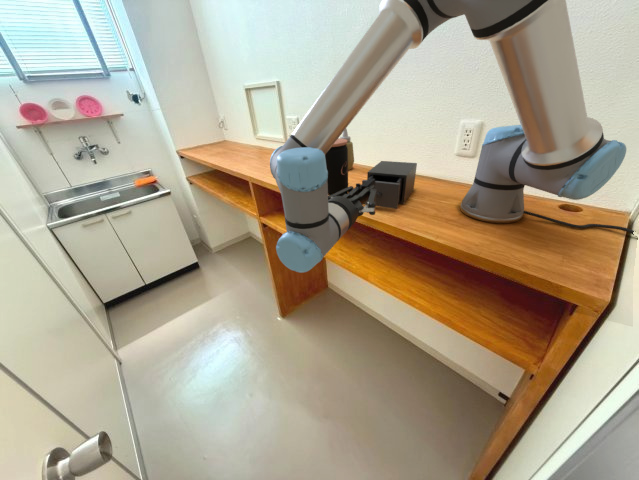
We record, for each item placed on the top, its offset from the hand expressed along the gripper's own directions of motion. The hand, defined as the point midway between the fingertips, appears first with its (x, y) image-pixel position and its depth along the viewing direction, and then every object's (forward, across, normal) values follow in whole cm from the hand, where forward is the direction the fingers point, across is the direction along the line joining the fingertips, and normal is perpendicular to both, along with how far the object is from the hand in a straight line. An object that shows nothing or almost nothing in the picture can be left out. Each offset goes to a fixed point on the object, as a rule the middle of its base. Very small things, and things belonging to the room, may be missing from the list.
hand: (372, 183), depth 70 cm
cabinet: (+20, 0, -11) cm, 23 cm away
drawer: (+13, 0, -10) cm, 16 cm away
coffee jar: (+17, -21, -11) cm, 29 cm away
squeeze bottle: (+45, -29, -11) cm, 55 cm away
